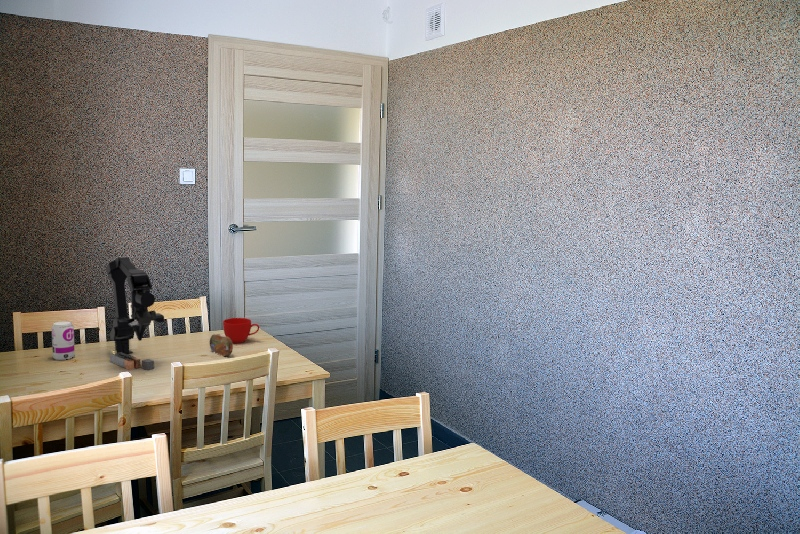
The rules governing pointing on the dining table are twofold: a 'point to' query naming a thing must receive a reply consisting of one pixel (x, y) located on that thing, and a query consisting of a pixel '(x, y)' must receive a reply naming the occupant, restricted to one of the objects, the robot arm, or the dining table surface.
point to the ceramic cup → (238, 329)
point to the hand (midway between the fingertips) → (139, 340)
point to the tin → (221, 344)
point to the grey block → (147, 364)
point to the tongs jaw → (136, 360)
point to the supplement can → (63, 340)
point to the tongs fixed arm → (121, 360)
